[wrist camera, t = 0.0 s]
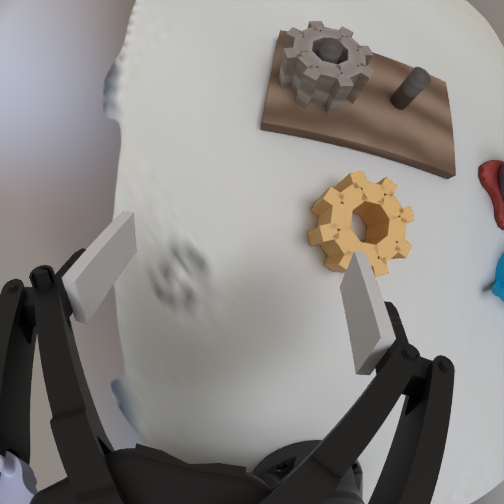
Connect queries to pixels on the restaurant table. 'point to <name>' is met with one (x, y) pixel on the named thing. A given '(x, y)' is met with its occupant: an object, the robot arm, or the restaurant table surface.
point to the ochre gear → (373, 214)
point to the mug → (499, 279)
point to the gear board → (358, 100)
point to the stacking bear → (494, 186)
